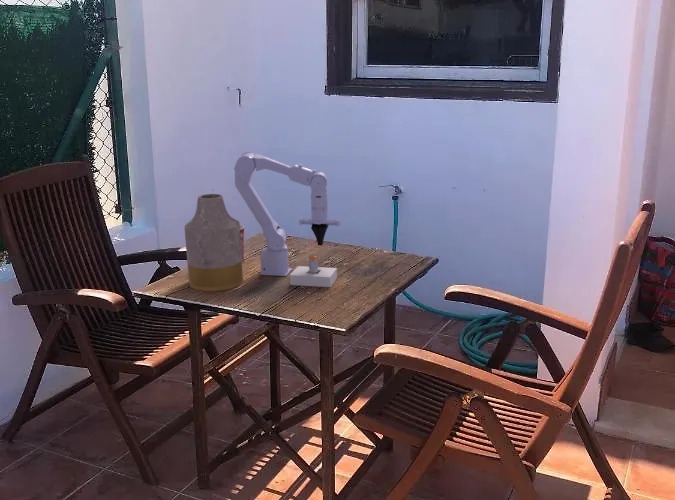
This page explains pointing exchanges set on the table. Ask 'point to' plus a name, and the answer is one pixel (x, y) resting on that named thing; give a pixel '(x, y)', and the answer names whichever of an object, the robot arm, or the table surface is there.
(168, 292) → the table surface
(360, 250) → the table surface
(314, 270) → the pin
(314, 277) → the block
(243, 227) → the mug
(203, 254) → the vase
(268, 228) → the robot arm
